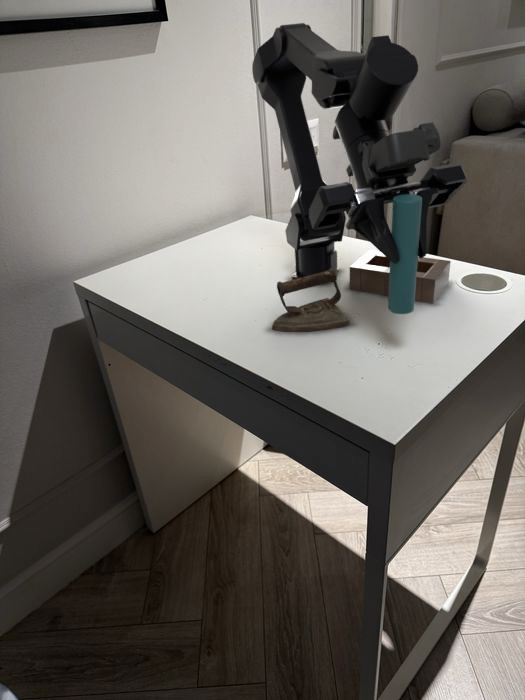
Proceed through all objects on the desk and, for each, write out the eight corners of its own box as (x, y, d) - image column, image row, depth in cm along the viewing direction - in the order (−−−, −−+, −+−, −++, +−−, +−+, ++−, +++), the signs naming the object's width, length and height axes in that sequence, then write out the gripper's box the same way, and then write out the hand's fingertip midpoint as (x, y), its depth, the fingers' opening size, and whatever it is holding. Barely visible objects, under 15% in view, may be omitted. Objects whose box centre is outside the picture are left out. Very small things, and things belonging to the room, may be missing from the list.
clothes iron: (355, 326, 77) (342, 271, 70) (285, 357, 76) (266, 304, 70) (335, 303, 82) (322, 250, 76) (271, 331, 82) (252, 280, 75)
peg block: (349, 289, 87) (349, 266, 85) (368, 271, 92) (368, 249, 90) (433, 303, 80) (435, 279, 78) (448, 283, 85) (450, 260, 83)
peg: (384, 311, 65) (388, 201, 58) (393, 301, 68) (398, 193, 60) (409, 316, 64) (417, 203, 57) (417, 305, 66) (425, 195, 59)
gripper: (314, 110, 55) (360, 242, 51) (467, 89, 58) (520, 210, 55) (292, 172, 65) (329, 285, 62) (423, 150, 69) (465, 256, 66)
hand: (410, 259), depth 61 cm, fingers closed on peg, 3 cm apart
